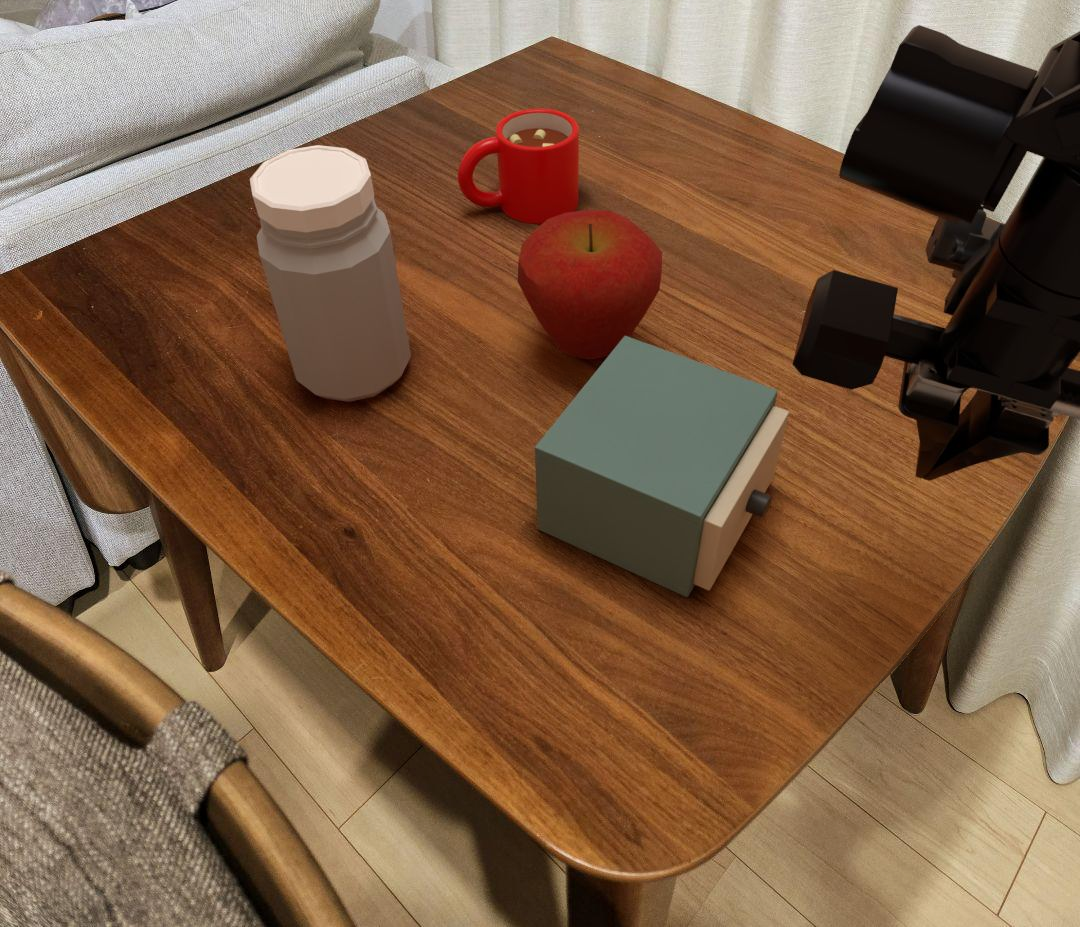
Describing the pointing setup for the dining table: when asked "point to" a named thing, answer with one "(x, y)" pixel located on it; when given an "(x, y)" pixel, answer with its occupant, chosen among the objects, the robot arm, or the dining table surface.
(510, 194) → the mug
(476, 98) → the dining table surface
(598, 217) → the apple
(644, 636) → the dining table surface
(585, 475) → the cabinet
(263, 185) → the jar
